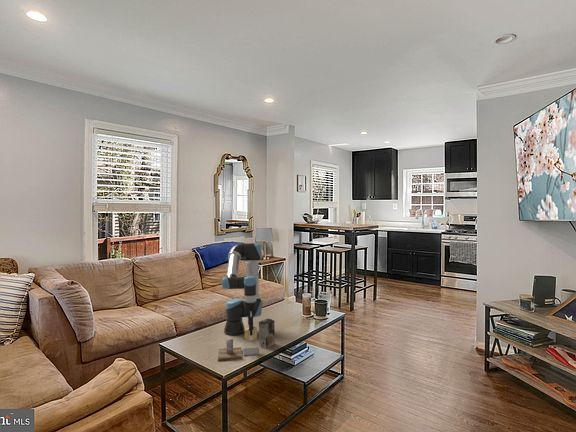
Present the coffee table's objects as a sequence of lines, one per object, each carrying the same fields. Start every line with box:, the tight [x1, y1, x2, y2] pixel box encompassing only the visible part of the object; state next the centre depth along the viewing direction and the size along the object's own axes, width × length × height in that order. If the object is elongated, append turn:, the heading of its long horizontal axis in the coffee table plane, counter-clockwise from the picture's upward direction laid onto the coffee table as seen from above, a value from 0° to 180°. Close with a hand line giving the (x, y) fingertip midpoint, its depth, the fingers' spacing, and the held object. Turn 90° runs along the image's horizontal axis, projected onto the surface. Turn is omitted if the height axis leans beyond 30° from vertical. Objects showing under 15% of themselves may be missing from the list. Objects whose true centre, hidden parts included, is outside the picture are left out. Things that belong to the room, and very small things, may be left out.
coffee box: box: [258, 318, 276, 349], centre depth 223 cm, size 9×6×16 cm
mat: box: [243, 347, 260, 357], centre depth 212 cm, size 10×9×1 cm
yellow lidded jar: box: [244, 325, 258, 341], centre depth 212 cm, size 8×8×7 cm
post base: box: [217, 338, 243, 362], centre depth 208 cm, size 14×14×10 cm
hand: (250, 337), depth 212 cm, fingers closed on yellow lidded jar, 7 cm apart
